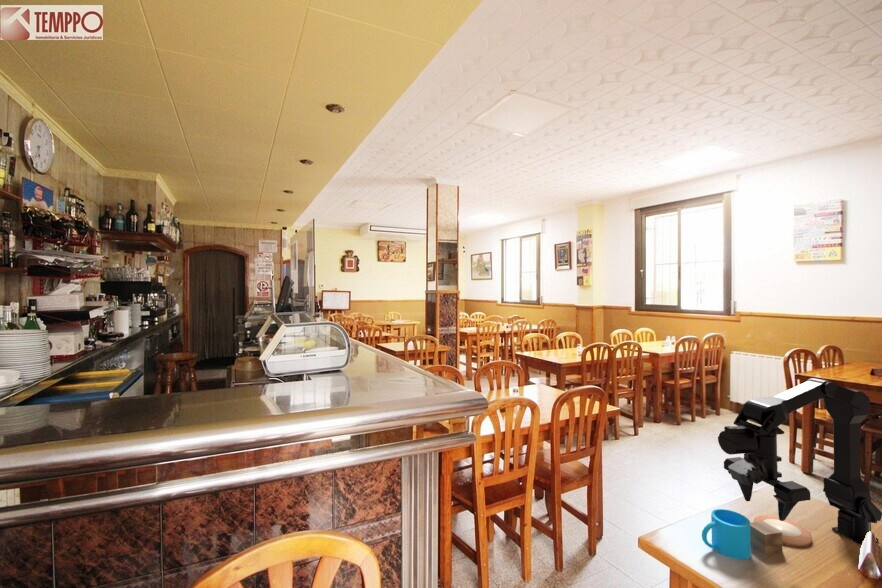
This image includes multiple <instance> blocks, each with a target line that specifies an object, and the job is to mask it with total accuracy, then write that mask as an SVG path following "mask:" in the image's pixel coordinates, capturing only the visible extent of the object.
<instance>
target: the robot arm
mask: <svg viewBox="0 0 882 588" xmlns="http://www.w3.org/2000/svg"><path fill="white" fill-rule="evenodd" d="M821 399H822V400H823V403H824V407H825V410H826V412H827V413H828V415H829V416H830V417H831V419H832V423H833V427H832V428H833V429H832V430H833V433H832V434H833V436H832V437H833V440H832V441H833V472H832V474H831V475H829V476H828V477H824V478H823V479H822V480H823V489H822V492H824V496H825V497H826V498H827V501H828V503H829V506H831V507H834V508H836V509H838V510H837V517H836V518H837V521H836V522H837V526H834V527H831V530H832V531H834V532H835V533H837V534H839V535H841V536H843V537H845V538H847V539H848V540H850V541H852V542H854V543H856V544H857V545H858V544H859V545H862V544H861V543H862V541H863V540H864V538H865V535H866V533H867V532H869V531H871V532H872V524H878V522H881V520H882V511H881V510H880V509H879V508H878V507H877V506H876V505H875V504H874V503H873V502H872V498H871V493H870V489H869V488H868V487H867V485H866V483H865V482H864V481H863V479H862V475H861V474H862V473H861V472H862V471H861V423H862V422H863V421H864V420H865V419H866V418H867V417H868V416H869V413H870V406H871V401H870V397H869V395H867V394H866V393H865V392H864V391H861V390H856V389H851V388H847V387H844V386H841V385H838V384H836V383H834V382H832V381H831V380H826V379H821V378H816V377H812V378H807V379H806V381H805V382H803V383H800V384H798V385H795V386H793V387H792V388H789V389H787V390H785V391H783V392H780V393H779V394H777V395H774V396H768V397H766V396H765V397H757V398H751V399H749V400H747V401H745V403H743V407H742V408H741V410H740V412H739V413H738V415H737V416H736V417H735V420H734V421H733V424H734V426H730V425H727V426H724V430H723V431H720V433H719V434H718V437H717V441H718V445H719V447H720V448H721V450H722V451H723V452H724V453H725V454H727V455H731V456H732V455H741V454H743V457H741V456H736V457H729V458H725V460H724V461H723V469H724V470H726V471H727V472H728V474H729V475H731V479H733V480H734V481H735V480H736V481H737V483H738V486H739V488H740V491H741V493H742V495H743V498H744V500H745V502H751V498H752V494H753V489H754V484H756V485H758V484H760V483H761V482H764V483H766V484H767V485H770V486H772V487H773V492H774V494H773V495H772V496H773V497H774V498H775V499H776V500H777V507H778V508H777V510H778V517H779V520H780V521H784V520H785V519H787V517H788V516H789V515H790V513H791V512H792V510H793V509H794V507H796V505H797V504H798V503H799V502H805V501H811V491H810V489H809V488H808V487H806V486H804V485H802V484H799V483H798V482H795V481H793V480H790V481H781V480H779V479H778V478H783V473H782V472H780V471H778V462H782V457H781V456H780V455H778V441H777V439H778V436H777V435H784V434H785V431H784V430H782V429H781V428H780V427H779V426H780V425H782V424H784V423H785V422H786V421H787V420H788V417H789V414H791V413H793V412H795V411H798V410H799V409H800V410H801V408H804V407H805V406H808V405H811V404H813V403H814V402H817V401H819V400H821ZM876 540H877V542H879V538H877V537H876Z"/></svg>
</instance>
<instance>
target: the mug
mask: <svg viewBox="0 0 882 588" xmlns="http://www.w3.org/2000/svg"><path fill="white" fill-rule="evenodd" d="M710 517H711V518H710V519H711V521H710V522H709V523H707V524H706V525H705V526H704V527H703V530H702V531H701V539H702V541H703V543H704V544H705V545H706V546H708V547H709V548H711V549H713V550H716V551H717V552H718V553H720V554H721V555H723V556H726V557H728V558H731V559H735V558H736V559H735V560H747V559H750V558H751V555H752V550H751V549H752V547H751V546H752V545H751V540H750V523H751V520H749V518H748V517H746V515H743V514H741V513H739V512H737V511H734V510H730V509H724V508H716V509H713V510H712V511H711V514H710ZM710 530H711V543H710V542H709V540H708V533H709V531H710Z"/></svg>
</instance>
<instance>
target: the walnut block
mask: <svg viewBox="0 0 882 588" xmlns="http://www.w3.org/2000/svg"><path fill="white" fill-rule="evenodd" d="M750 540H751V546H753V547H755V548H756V549H758V550H759V551H760V552H762V554H763V553H764V555H768V554H775V553H781V552H783V544H782V532H781V531H779V530H777V529H776V528H774V527H772V526H771V525H769V524H767V523H766V522H764V521H760V522H754V521H753V522H750Z"/></svg>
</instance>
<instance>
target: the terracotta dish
mask: <svg viewBox="0 0 882 588" xmlns="http://www.w3.org/2000/svg"><path fill="white" fill-rule="evenodd" d="M760 521H764V522H766V523H767V524H769V525H771V526H772V527H774V528H776V529H777V530H779V531H781V532H782V545H787V546H792V547H798V548H799V547H807V546H811V544H812V542H813V537H812V534H811V532H810V531H809V530H808V529H807V528H805V527H803V526H802V525H801V524H798V523H796V522H794V521H792V520H789V519H787V518H786V519H785V520H784V521H780V520H779V516H775V515H763V514H762V515H757V516H756V517H754V518H753V522H760Z"/></svg>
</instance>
